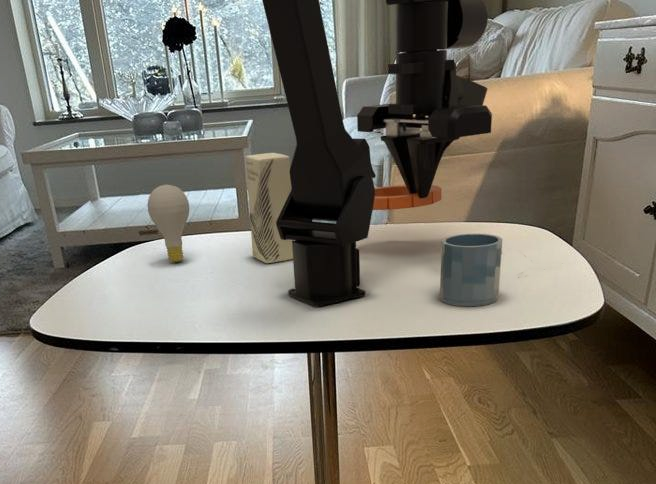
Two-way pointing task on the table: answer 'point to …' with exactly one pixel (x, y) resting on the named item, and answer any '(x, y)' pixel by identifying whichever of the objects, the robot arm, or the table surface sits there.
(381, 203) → the ring
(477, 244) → the cup
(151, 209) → the light bulb
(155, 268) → the table surface
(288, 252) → the box
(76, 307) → the table surface
